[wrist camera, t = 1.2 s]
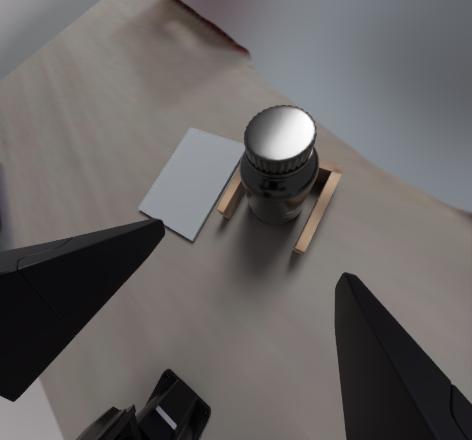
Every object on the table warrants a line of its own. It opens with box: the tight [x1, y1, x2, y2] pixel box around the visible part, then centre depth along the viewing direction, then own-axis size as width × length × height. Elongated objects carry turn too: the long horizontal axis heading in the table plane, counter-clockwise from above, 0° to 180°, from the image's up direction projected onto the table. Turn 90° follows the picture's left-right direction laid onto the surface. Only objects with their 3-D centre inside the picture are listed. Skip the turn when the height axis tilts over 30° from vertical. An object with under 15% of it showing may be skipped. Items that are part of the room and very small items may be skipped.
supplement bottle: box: [239, 105, 319, 225], centre depth 17 cm, size 7×7×12 cm
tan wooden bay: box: [217, 159, 345, 254], centre depth 21 cm, size 10×11×3 cm
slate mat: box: [138, 127, 245, 241], centre depth 26 cm, size 16×11×1 cm
